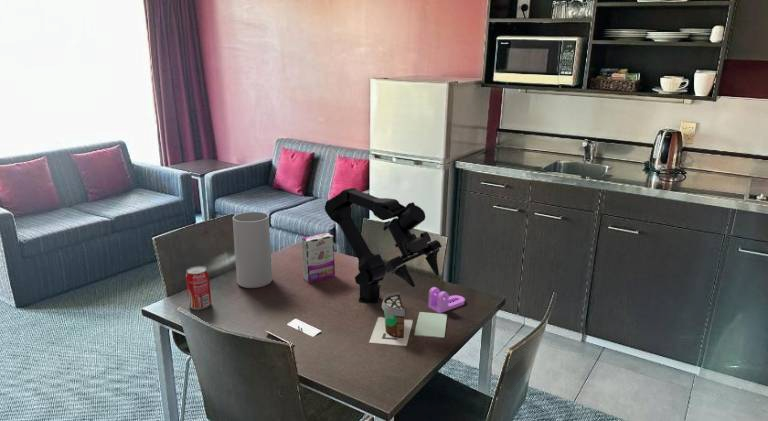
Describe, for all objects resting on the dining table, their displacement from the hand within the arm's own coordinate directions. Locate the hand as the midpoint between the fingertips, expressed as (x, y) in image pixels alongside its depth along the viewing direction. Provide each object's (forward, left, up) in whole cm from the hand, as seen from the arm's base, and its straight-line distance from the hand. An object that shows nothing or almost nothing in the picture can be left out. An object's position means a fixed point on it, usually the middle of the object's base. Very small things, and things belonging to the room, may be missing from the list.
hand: (426, 280), depth 166 cm
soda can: (-74, -2, -14) cm, 76 cm away
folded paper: (-38, -14, -15) cm, 43 cm away
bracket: (+7, +14, -15) cm, 21 cm away
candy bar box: (-42, +28, -15) cm, 53 cm away
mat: (+2, -1, -14) cm, 14 cm away
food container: (-9, -7, -14) cm, 18 cm away
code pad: (-9, -7, -14) cm, 18 cm away
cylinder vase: (-64, +20, -14) cm, 69 cm away
